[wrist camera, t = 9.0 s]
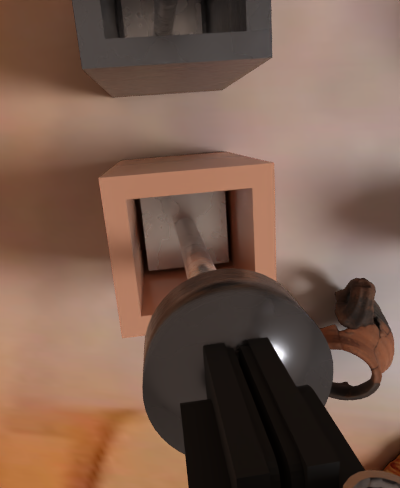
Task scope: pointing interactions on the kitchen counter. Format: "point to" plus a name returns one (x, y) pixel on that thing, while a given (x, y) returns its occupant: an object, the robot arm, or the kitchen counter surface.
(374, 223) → the kitchen counter surface
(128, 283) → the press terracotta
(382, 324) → the brown curved piece
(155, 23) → the plunger bronze
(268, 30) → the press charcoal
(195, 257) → the grey plunger
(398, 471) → the croissant
